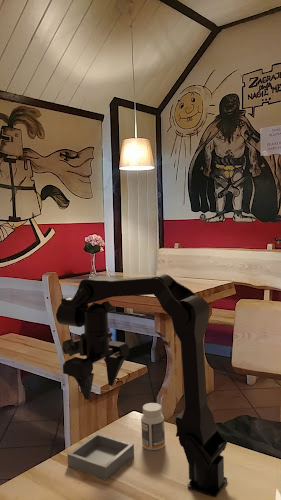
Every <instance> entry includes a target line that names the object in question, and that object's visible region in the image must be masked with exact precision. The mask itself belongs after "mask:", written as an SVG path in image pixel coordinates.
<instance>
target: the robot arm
mask: <svg viewBox="0 0 281 500" xmlns="http://www.w3.org/2000/svg"><path fill="white" fill-rule="evenodd" d="M146 295H147V296H149V295H150V296H151V295H153V296H155V298H156V299H157V301H158V303H159V305H160V306H161V308H162V310H163V311H164V312H166V314H167V315H168V316H169V317H170V319H171V322H172V327H173V331H174V333H175V335H176V336H177V338H178V340H179V342H180V351H181V353H180V354H181V365H182V366H181V368H182V371H181V372H182V382H183V383H182V385H183V400H184V409H183V411H181V412H180V413H179V414H178V415H177V416H176V417H175V426H176V434H175V437H176V438H178V441H179V442H178V443H179V444H180V446H181V447H182V448H183V451H184V454H185V457H186V461H187V464H188V479H189V482H188V483H187V489H188V488H189V489H190V490H194V491H197V492H200V493H202V494H203V493H204V494H206V495H209V496H211V497H217V496H218V495H219V494H220V492H221V491H222V489H223V487H224V486H225V484H226V483H228V482H227V481H228V477H225V469H224V468H225V466H224V465H225V464H224V463H225V462H224V461H225V460H224V456H223V455H221V454H222V452H225V450H226V448H227V444H228V440H227V439H226V438H225V437H224V436H223V435H222V434H221V432H220V431H219V430H218V429H217V425H216V422H215V421H216V420H215V417H214V414H213V413H212V411H211V409H210V408H209V405H208V400H207V398H208V397H207V381H206V379H207V378H206V367H205V366H206V365H205V362H206V361H205V349H204V348H205V347H204V338H205V335H206V331H207V329H208V325H209V316H210V306H209V303H208V301H206V299H204V298H203V297H201V296H199V295H197V294H195V292H193V291H192V290H191V289H190V288H188V287H186V286H184V285H182V284H181V283H180V282H178V281H176V280H175V279H174V278H173V277H172V276H171V275H168V274H166V273H165V274H160V275H154V276H139V277H129V278H128V277H127V278H117V277H116V278H115V277H113V276H110V275H109V276H108V275H95V276H92V277H88V278H83V279H81V280H80V282H79V284H78V289H77V290H76V292H75V294H74V296H73V297H68V296H67V297H64V298H63V297H62V298H61V300H60V301H61V303H60V304H59V305H58V307H57V310H56V313H55V318H56V321H57V323H59V325H61V326H62V325H63V326H71V327H76V328H82V327H84V333H81V334H80V337H79V339H75V340H73V339H72V338H70V339H67V340H63V341H62V351H63V353H64V354H65V355H68V356H69V357H72V356H74V355H79V356H81V357H82V358H81V357H78V356H75V357H72V358H70V359H68V360H65V361H64V363H62V373H63V375H67V376H69V377H72V378H74V380H76V383H77V384H78V386H79V389H80V391H81V393H82V396H83V398H84V400H90V397H91V393H92V387H93V382H94V376H95V374H94V373H93V370H94V364H97V363H98V362H101V361H104V363H105V365H106V375H107V382H108V386H109V387H113V386H114V384H115V381H116V379H117V377H118V375H119V372H120V370H121V369H122V366H123V363H124V362H125V360H126V359H127V356H128V355H130V346H129V345H128V344H127V343H126V342H122V341H118V340H117V341H116V340H111V341H110V338H111V337H113V331H109V318H108V317H109V315H108V314H109V313H112V312H113V311H116V308H115V306H114V305H112V304H111V302H110V301H109V300H106V299H110V298H113V297H115V298H117V297H130V296H131V297H132V296H146ZM103 300H106V301H103ZM100 301H103V302H101V303H97V302H100ZM89 304H90V305H89ZM83 357H86V358H83Z"/></svg>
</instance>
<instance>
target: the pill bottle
mask: <svg viewBox="0 0 281 500" xmlns="http://www.w3.org/2000/svg"><path fill="white" fill-rule="evenodd" d="M162 412H163V409H162V405H161V404H159V403H156V402H149V403H148V402H147V403H145V404H143V406H142V415H141V418H140V420H141V422H140V423H141V424H140V425H141V445H142V447H143V448H144V449H145V450H148V451H158V450H161V449H163V448H164V447H165V445H166V438H165V437H166V436H165V435H166V434H165V433H166V431H165V417H164V415H163V414H162Z"/></svg>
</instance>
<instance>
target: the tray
mask: <svg viewBox="0 0 281 500" xmlns="http://www.w3.org/2000/svg"><path fill="white" fill-rule="evenodd" d="M134 457H135V444H134V443H131V442H128V441H124V440H121V439H117V438H115V437H111V436H108V435H104V434H102V433H98V432H96V433H95V434H94V435H92V436H91V437H89V438H88V439H86V440H85V441H84V442H82V443H81V444H79V445H78V446H76V447H75V448H73V450H71V451H70V452H68V453H67V467H68V468H71V469H73V470H77V471H79V472H82V473H85V474H88V475H89V476H93V477H95V478H98V479H101V480H103V481H106V482H107V481H108V480H109V479H110V478H111V477H112V476H114V475H115V474H116V473H117V472H118V471H119V470H121V468H122V467H124V466H125V465H126V464H127V463H128V462H130V461H131V460H132V459H133V458H134Z"/></svg>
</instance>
